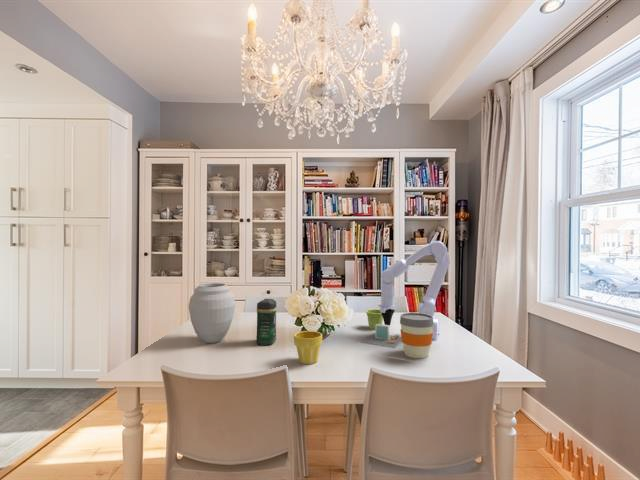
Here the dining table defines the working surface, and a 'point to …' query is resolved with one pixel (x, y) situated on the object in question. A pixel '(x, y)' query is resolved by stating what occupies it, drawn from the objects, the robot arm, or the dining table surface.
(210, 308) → the vase
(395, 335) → the wooden plank
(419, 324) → the reusable coffee cup
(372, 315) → the plant pot
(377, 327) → the tile
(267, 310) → the coffee jar
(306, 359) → the plant pot
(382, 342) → the mat
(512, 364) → the dining table surface
